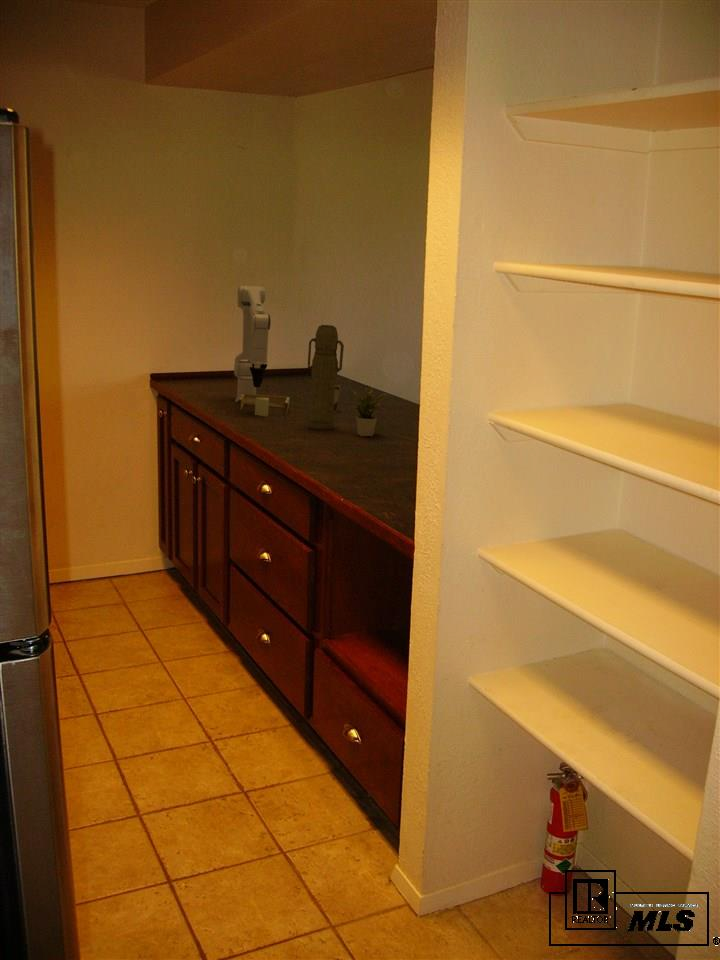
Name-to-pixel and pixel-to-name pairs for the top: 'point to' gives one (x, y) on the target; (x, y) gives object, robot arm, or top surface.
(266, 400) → the sage block
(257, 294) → the robot arm
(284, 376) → the top surface
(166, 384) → the top surface
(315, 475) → the top surface
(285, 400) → the open crate
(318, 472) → the top surface
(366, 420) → the house plant
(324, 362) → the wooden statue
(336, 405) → the food container
